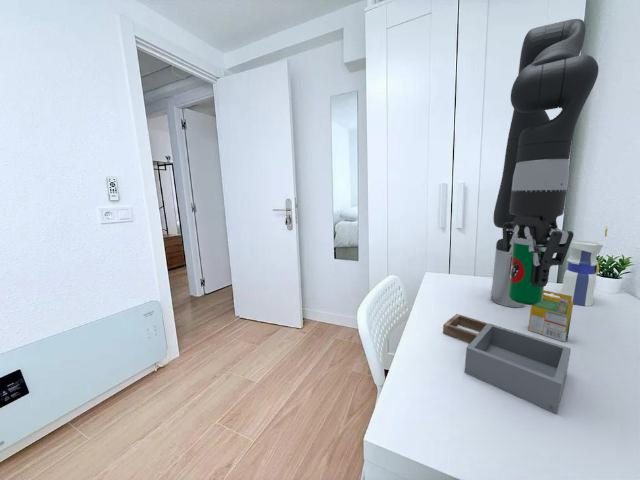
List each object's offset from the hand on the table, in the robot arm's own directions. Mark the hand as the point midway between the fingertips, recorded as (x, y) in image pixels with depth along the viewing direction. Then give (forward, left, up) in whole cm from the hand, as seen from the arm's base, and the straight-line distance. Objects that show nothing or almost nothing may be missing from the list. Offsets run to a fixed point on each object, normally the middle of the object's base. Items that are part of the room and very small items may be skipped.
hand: (526, 280), depth 49 cm
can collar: (-9, -12, -19) cm, 24 cm away
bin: (0, 0, -19) cm, 19 cm away
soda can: (0, 0, -4) cm, 4 cm away
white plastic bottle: (-55, +5, -20) cm, 59 cm away
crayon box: (-23, +2, -20) cm, 30 cm away
